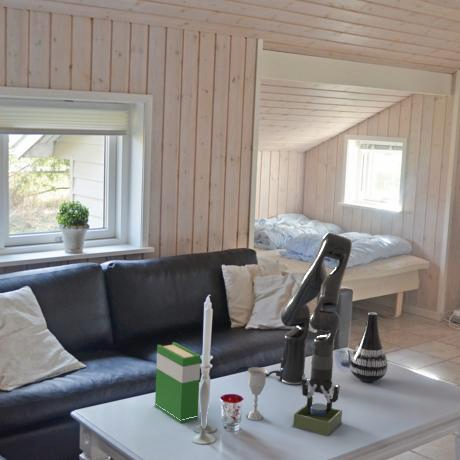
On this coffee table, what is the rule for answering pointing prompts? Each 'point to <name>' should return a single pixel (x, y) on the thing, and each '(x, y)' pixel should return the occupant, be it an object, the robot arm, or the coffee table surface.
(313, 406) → the blue round puck
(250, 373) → the chalice
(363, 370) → the vase
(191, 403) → the hardback book
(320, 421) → the tub
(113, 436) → the coffee table surface
